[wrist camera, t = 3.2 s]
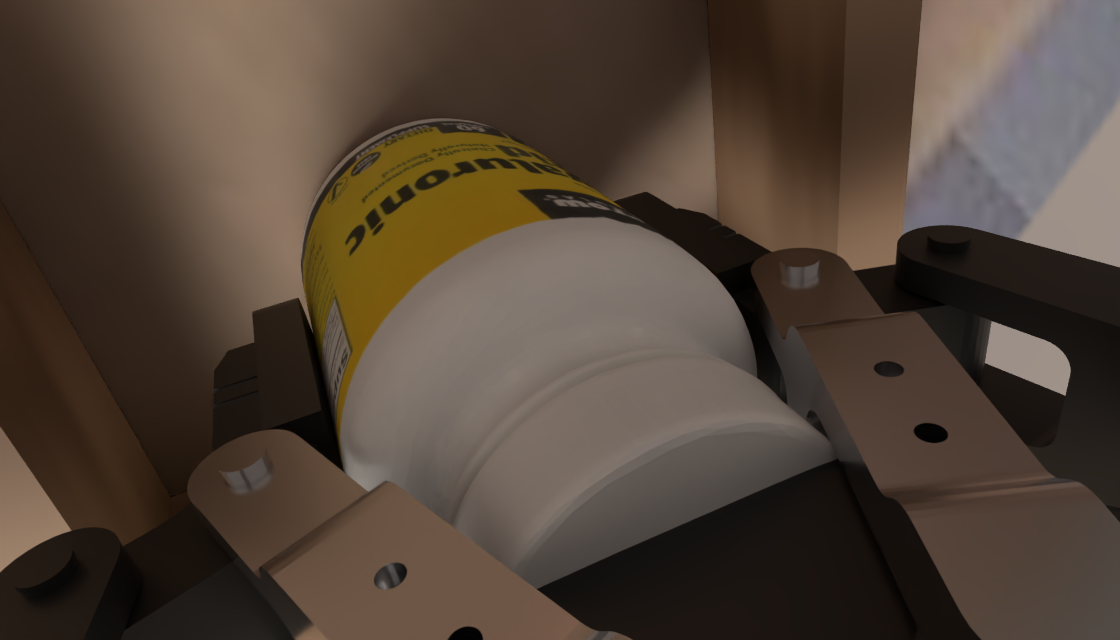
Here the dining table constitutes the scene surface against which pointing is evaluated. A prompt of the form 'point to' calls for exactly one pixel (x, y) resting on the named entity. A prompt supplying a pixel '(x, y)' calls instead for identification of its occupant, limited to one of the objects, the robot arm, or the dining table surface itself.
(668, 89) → the dining table surface
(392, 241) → the supplement bottle
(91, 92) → the dining table surface
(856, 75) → the walnut cubby
